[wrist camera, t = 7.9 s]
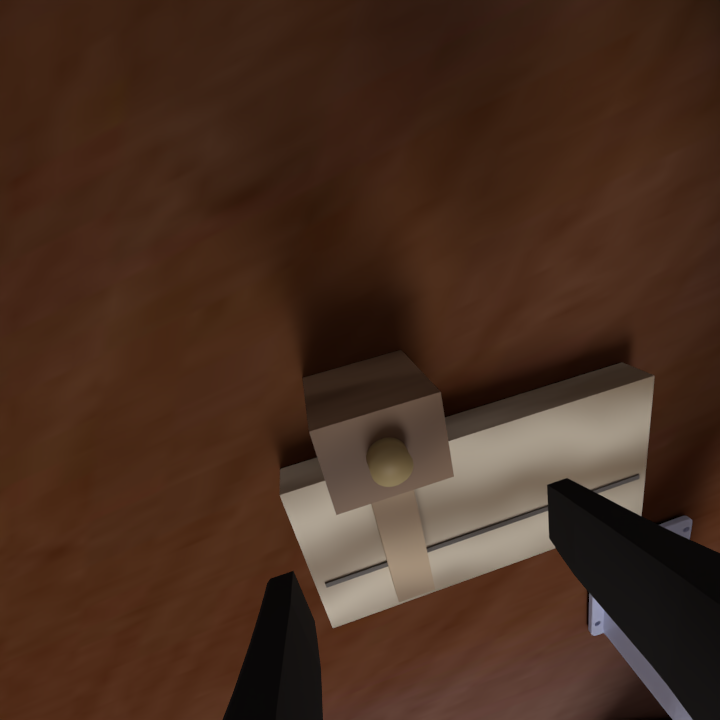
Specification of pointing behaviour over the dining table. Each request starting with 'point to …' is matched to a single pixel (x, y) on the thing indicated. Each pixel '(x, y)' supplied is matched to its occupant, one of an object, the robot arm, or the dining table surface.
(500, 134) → the dining table surface
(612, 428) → the board
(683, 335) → the dining table surface
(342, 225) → the dining table surface
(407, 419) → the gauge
